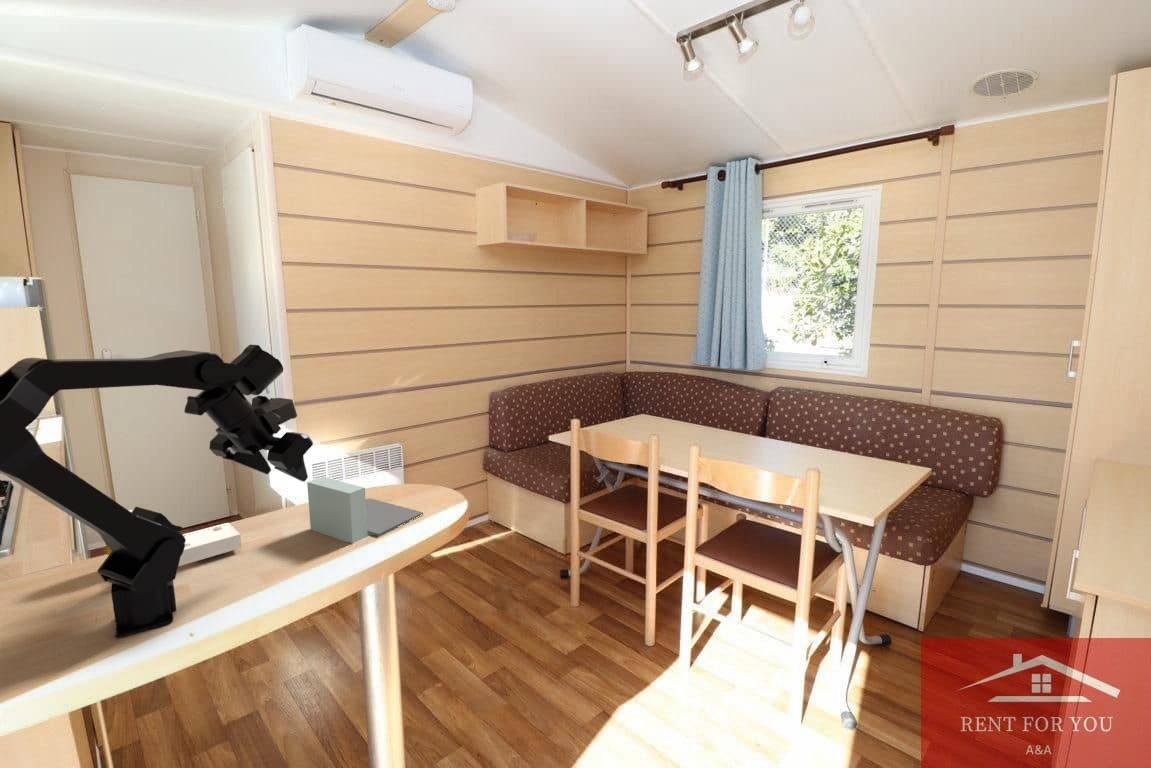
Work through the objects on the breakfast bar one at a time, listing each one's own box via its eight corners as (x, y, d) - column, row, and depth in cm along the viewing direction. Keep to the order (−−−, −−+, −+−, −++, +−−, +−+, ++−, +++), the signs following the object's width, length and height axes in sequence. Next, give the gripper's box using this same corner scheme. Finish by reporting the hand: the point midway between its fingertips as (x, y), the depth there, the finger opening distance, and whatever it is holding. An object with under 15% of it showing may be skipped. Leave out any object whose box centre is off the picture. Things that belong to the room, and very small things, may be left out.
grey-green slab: (352, 544, 105) (349, 493, 103) (310, 530, 111) (307, 482, 109) (367, 536, 108) (364, 487, 106) (326, 523, 114) (322, 476, 112)
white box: (153, 579, 92) (148, 536, 91) (145, 564, 97) (139, 523, 95) (242, 552, 101) (238, 513, 100) (230, 540, 106) (226, 502, 105)
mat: (378, 536, 108) (378, 533, 108) (323, 519, 115) (323, 517, 115) (423, 515, 118) (423, 512, 118) (369, 500, 126) (369, 498, 126)
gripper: (309, 386, 92) (353, 448, 102) (232, 377, 100) (280, 436, 110) (261, 435, 85) (313, 497, 95) (182, 422, 92) (239, 481, 102)
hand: (286, 475), depth 101 cm, fingers open, 9 cm apart
